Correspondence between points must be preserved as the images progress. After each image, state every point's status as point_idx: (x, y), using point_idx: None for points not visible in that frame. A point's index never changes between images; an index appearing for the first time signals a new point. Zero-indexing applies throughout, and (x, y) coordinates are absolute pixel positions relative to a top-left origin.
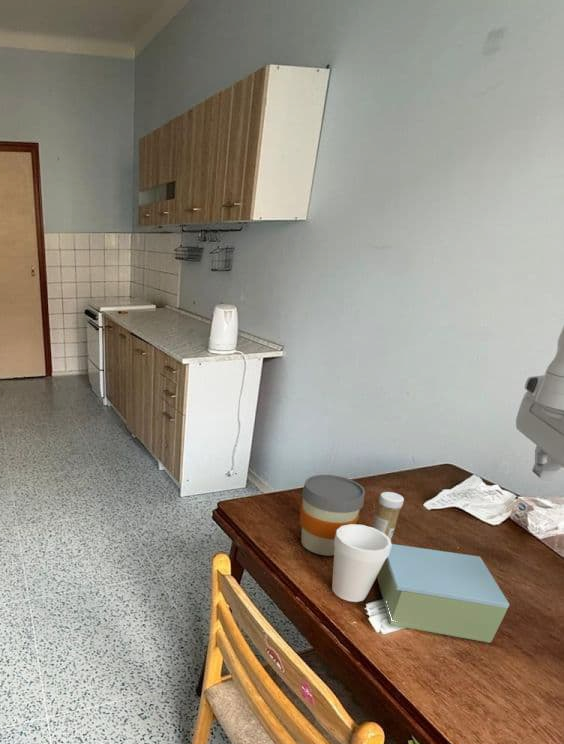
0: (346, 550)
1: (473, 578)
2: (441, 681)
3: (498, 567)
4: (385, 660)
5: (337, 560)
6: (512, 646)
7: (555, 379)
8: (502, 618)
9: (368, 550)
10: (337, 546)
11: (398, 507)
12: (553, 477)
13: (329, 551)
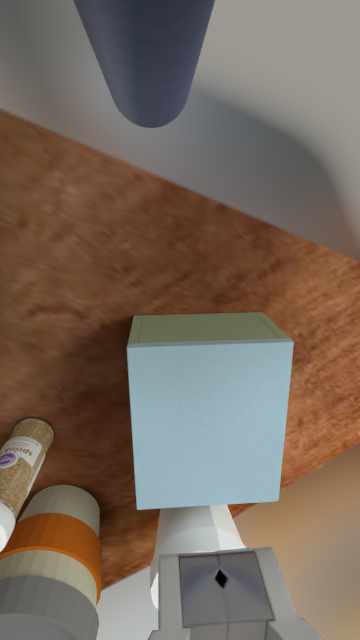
0: None
1: (220, 381)
2: (350, 392)
3: (11, 224)
4: (325, 447)
5: None
6: (262, 281)
7: None
8: (281, 330)
9: None
10: None
11: (7, 510)
12: (278, 563)
13: (97, 511)
